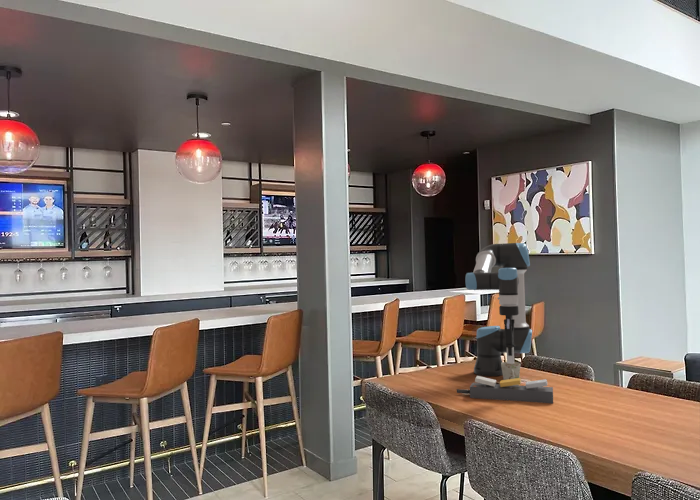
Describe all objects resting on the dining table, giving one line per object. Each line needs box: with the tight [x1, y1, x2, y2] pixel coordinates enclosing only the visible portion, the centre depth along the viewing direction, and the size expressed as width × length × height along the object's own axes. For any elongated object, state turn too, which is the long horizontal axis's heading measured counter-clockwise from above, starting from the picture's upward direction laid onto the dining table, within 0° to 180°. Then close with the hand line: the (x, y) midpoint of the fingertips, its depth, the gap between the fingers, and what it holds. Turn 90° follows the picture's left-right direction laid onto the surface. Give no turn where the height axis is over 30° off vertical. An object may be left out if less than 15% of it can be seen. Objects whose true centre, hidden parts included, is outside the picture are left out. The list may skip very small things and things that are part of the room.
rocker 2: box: [499, 377, 522, 387], centre depth 216 cm, size 5×8×2 cm, turn 69°
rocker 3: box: [525, 378, 548, 389], centre depth 212 cm, size 5×8×2 cm, turn 69°
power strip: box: [456, 382, 554, 404], centre depth 217 cm, size 8×38×5 cm, turn 69°
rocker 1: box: [474, 375, 497, 387], centre depth 219 cm, size 5×8×2 cm, turn 69°
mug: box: [501, 361, 521, 380], centre depth 235 cm, size 8×13×10 cm, turn 174°
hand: (510, 363), depth 216 cm, fingers closed
